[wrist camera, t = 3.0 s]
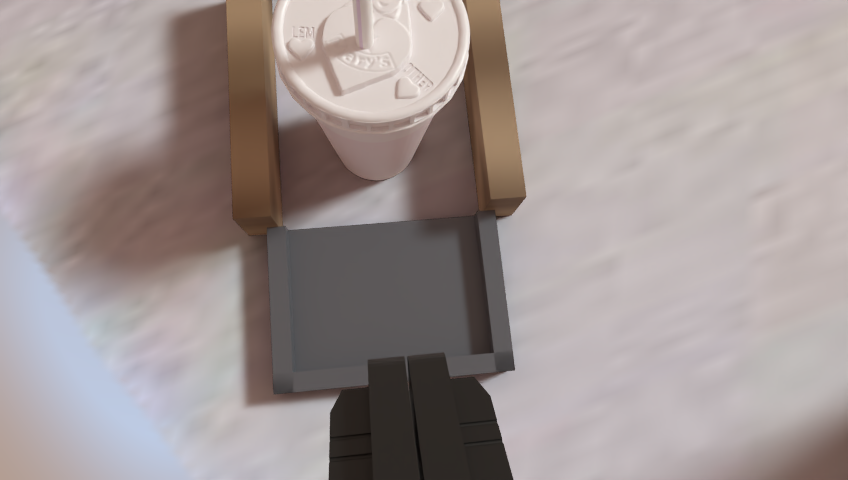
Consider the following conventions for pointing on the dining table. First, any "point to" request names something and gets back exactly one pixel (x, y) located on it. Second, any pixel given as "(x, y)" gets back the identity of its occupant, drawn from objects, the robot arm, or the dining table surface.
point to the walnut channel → (259, 122)
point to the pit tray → (386, 299)
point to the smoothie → (372, 72)
